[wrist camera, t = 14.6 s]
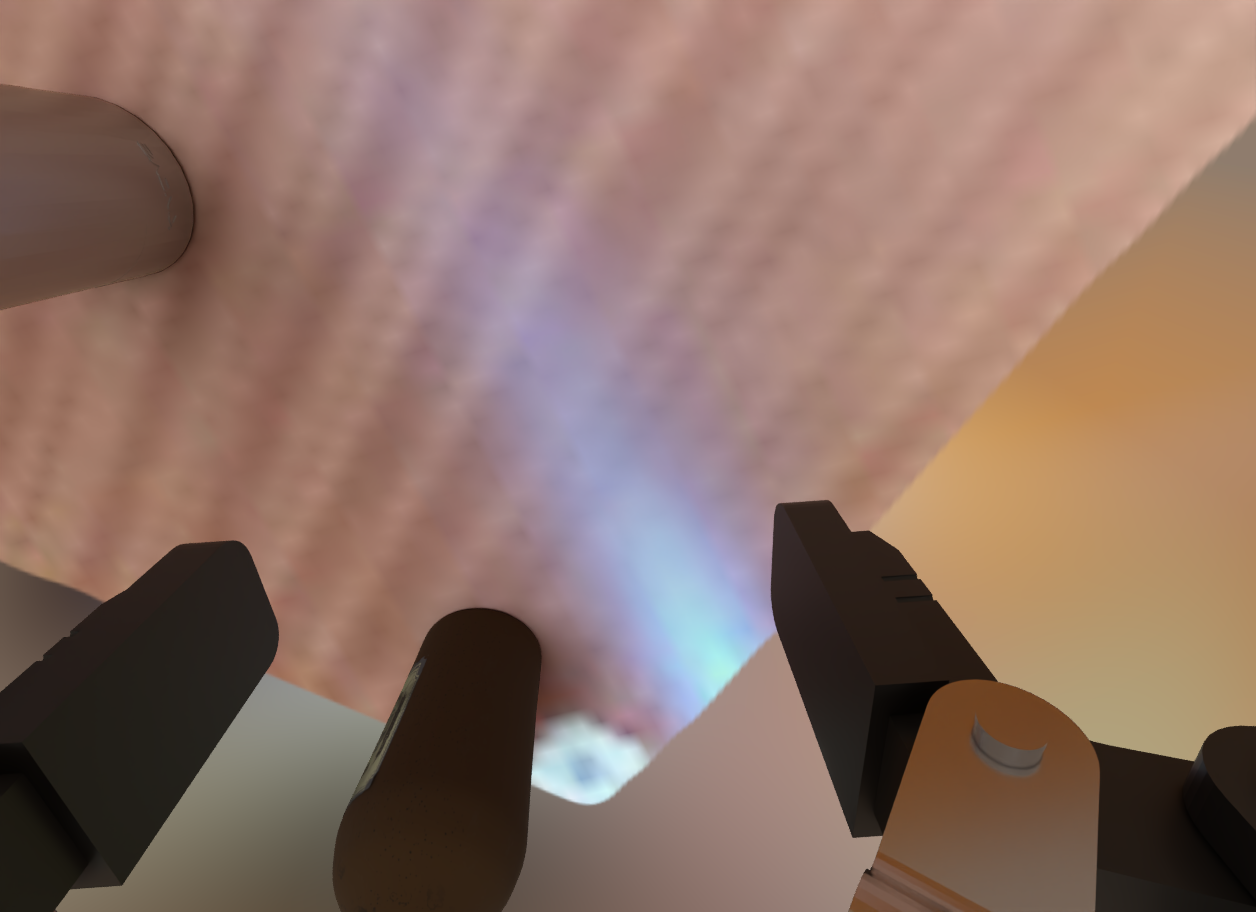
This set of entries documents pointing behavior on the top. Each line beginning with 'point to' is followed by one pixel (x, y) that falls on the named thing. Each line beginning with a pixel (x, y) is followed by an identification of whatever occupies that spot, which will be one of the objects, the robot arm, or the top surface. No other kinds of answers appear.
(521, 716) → the olive oil
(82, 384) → the top surface
